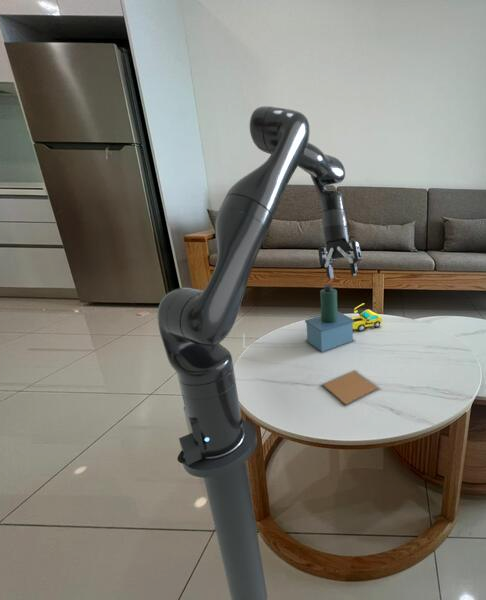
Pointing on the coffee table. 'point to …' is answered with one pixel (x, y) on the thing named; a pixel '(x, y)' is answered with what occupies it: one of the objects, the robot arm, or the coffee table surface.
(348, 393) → the mat
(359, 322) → the toy car
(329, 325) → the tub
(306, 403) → the coffee table surface
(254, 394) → the coffee table surface
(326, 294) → the bottle
